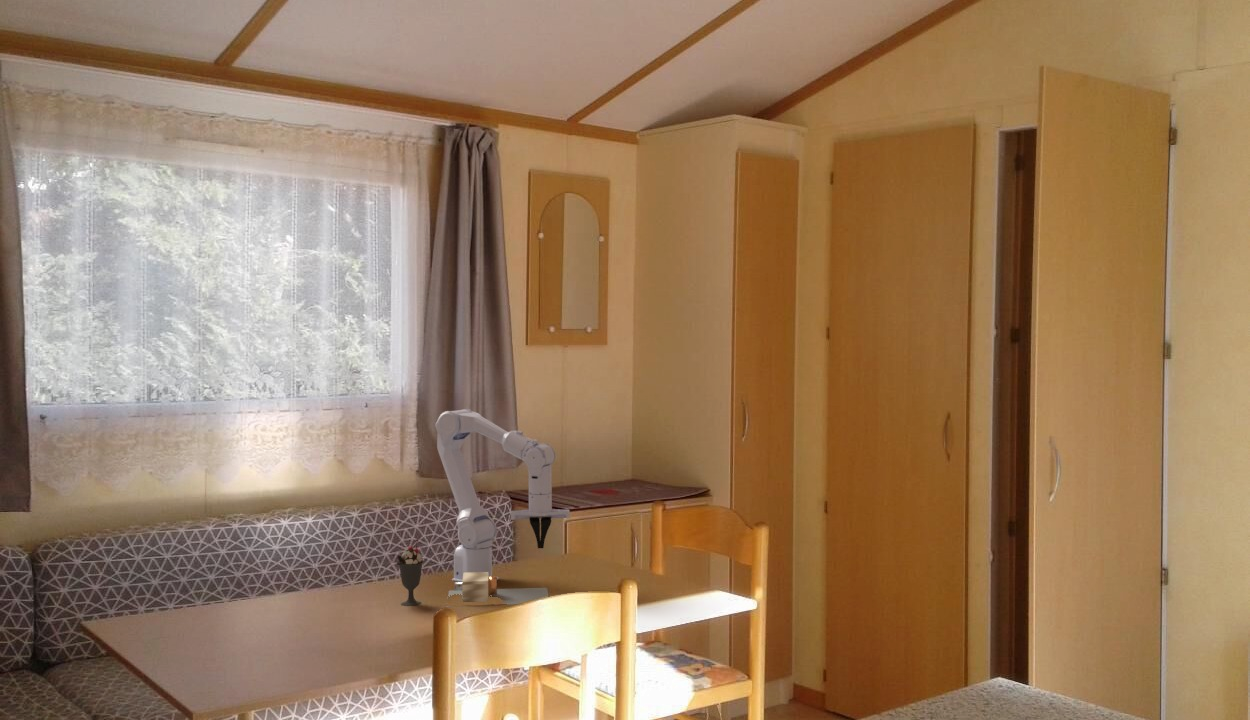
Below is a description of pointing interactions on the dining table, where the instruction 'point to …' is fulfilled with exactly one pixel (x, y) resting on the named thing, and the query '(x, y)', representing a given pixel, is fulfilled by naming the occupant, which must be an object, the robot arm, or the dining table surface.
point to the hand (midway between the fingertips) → (540, 547)
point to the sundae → (410, 572)
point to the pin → (491, 585)
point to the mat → (514, 594)
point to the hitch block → (475, 587)
